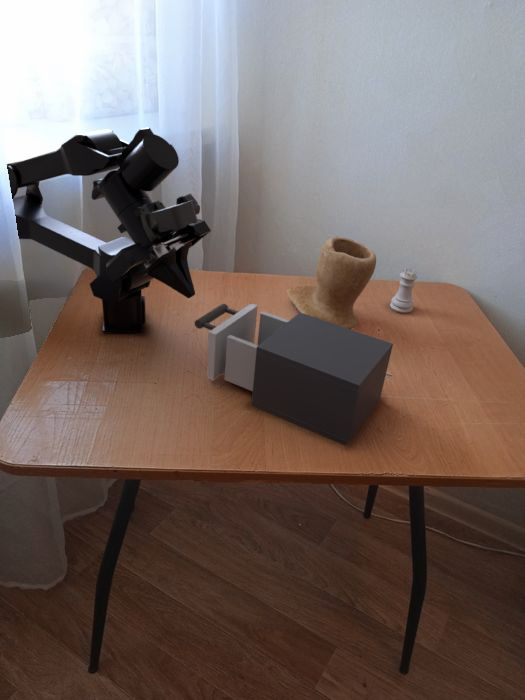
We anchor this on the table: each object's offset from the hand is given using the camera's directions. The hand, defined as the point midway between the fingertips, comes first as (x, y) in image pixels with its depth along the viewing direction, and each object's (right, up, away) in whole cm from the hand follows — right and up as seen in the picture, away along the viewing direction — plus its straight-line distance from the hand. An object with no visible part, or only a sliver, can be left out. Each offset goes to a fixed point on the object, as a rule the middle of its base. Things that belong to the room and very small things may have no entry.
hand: (192, 296), depth 85 cm
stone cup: (+23, -2, +20) cm, 30 cm away
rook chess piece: (+38, 0, +25) cm, 46 cm away
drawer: (+9, -11, 0) cm, 15 cm away
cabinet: (+19, -16, -4) cm, 25 cm away
